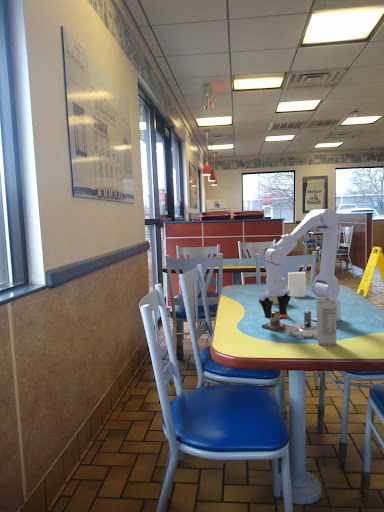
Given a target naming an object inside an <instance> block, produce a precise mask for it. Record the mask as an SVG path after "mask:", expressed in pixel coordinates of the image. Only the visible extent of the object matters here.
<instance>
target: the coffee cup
mask: <svg viewBox="0 0 384 512" xmlns="http://www.w3.org/2000/svg"><path fill="white" fill-rule="evenodd" d="M282 281H283V286H284V289H286V288H285V287H286V278H285V277H283V276H282ZM265 282H266V283H265V286H266V287H267V277H266V278H265ZM269 300H270V301H273V304H272V305H279V304H278V299H277V297H274V298H270V299H269Z"/></svg>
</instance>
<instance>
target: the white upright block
mask: <svg viewBox="0 0 384 512" xmlns="http://www.w3.org/2000/svg"><path fill="white" fill-rule="evenodd" d="M306 274H307V273H306V272H305V271H302V272H299V271H296V272H287V289H288V290H290V295H288V296H291V298H292V297H293V298H305V297H306V296H307V291H306V290H307V287H306V283H307V281H306Z"/></svg>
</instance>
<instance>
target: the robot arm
mask: <svg viewBox="0 0 384 512" xmlns="http://www.w3.org/2000/svg"><path fill="white" fill-rule="evenodd" d="M338 219H339V215H338V213H336V211H335V210H334V209H333V208H319V209H318V208H317V209H315V208H313V209H311V210H310V211H309V212H308V213H307V214H305V216H304V218H303V220H301V222H300V223H299V224H298V225H297V226H296V227H295V228H294V230H293V231H292V232H291V233H286V234H282V235H281V236H280V240H278V241H277V243H275V244H273V245H272V247H271V248H268V249H266V250H265V252H264V255H263V256H262V258H263V261H264V262H265V266H266V278H267V286H266V291H265V292H263V293H261V294H258V302H259V304H260V305H261V308H262V310H263V313H264V318H266V319H269V320H270V318H271V311H272V309H273V308H272V307H273V305H274V304H273V301H270V300H269V299H270V298H274V297H277V299H278V304H277V305H278V311H279V312H280V314H282V315H285V312H286V308H287V307H288V305H289V302H290V301H291V298H292V297H291V296H288V295H290V290H288V288H285V289H284V290H283V281H282V277H283V263H285V261H286V259H287V255H288V254H290V252H291V251H292V250H294V248H295V247H296V246H297V245H298V240H299V239H301V238H302V237H303V236H304V235H305V234H306V233H307V232H309V231H310V230H311V229H312V228H317V229H318V230H320V232H321V233H322V234H323V237H322V244H321V245H322V247H321V254H320V255H321V256H320V263H319V273H318V274H317V275H316V276H315V277H314V281H313V283H312V286H311V290H312V294H314V298H315V317H311V321H315V322H317V302H318V300H319V297H332V298H334V300H335V302H336V304H337V318H336V322H340V321H342V320H343V318H341V301H340V300H339V298H338V297H339V295H340V287H339V281H340V280H339V279H338V278H337V276H335V270H336V260H337V253H338V252H337V251H338V242H339V231H340V228H339V225H338Z"/></svg>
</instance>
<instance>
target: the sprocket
mask: <svg viewBox="0 0 384 512" xmlns="http://www.w3.org/2000/svg"><path fill="white" fill-rule="evenodd" d="M303 318H304V319H303V321H304V323H292V324H290V325H289V326H286V327H285V329H284V332H285V334H286V335H287V336H290V337H291V336H292V337H294V338H296V337H297V339H303V340H304V339H312V340H314V339H315V340H317V324H316V325H315V324H312V320H311V319H312V311H308V310H307V311H306V310H305V311H304V312H303Z"/></svg>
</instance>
